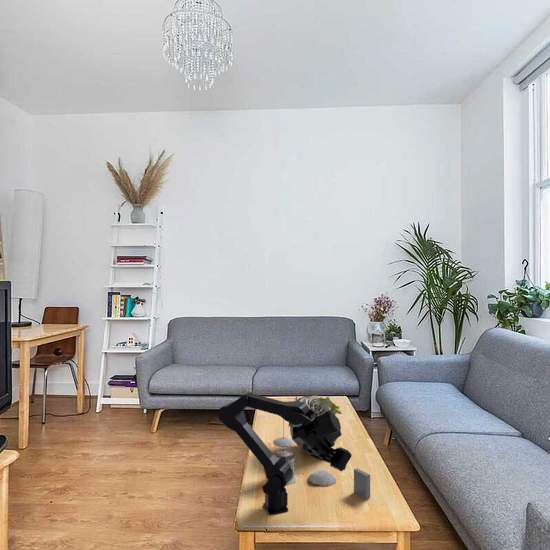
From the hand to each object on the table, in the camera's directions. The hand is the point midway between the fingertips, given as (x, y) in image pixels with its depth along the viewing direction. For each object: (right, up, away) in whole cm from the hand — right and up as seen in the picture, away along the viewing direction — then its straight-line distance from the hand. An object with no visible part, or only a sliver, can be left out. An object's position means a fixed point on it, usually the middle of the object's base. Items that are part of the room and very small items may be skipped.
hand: (339, 465), depth 139 cm
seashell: (-4, -13, +17) cm, 22 cm away
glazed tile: (+9, -13, +6) cm, 16 cm away
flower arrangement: (-4, -14, +43) cm, 46 cm away
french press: (-18, -13, +16) cm, 28 cm away
